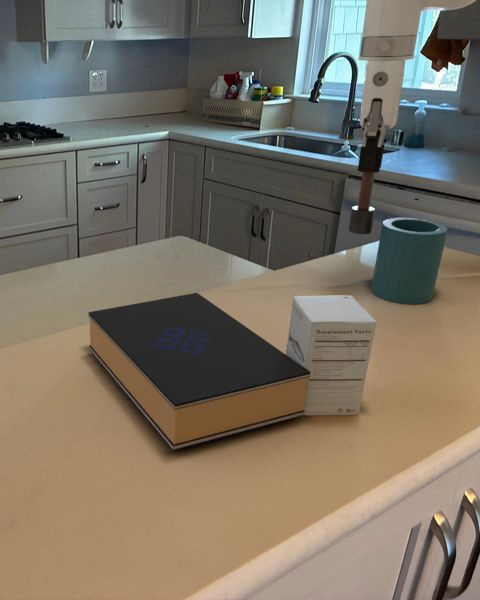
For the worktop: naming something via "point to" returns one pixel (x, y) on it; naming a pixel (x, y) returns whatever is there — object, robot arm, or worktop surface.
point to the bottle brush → (363, 207)
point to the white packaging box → (331, 351)
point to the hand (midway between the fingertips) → (369, 169)
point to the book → (196, 369)
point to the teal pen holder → (408, 260)
